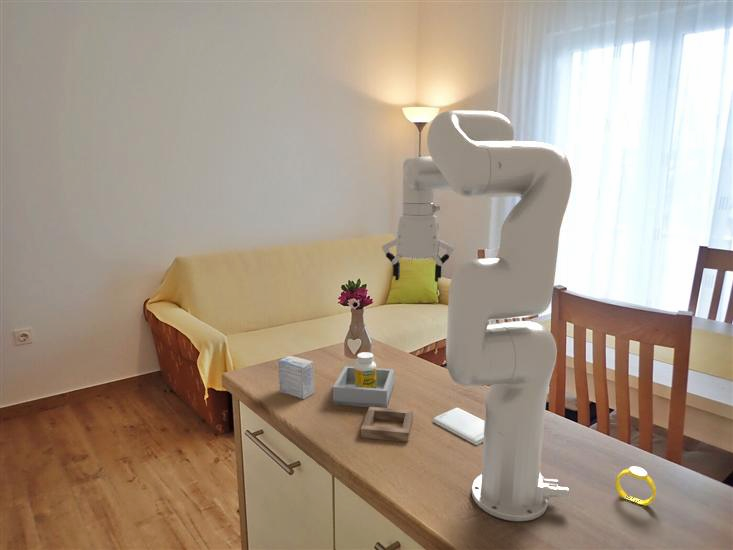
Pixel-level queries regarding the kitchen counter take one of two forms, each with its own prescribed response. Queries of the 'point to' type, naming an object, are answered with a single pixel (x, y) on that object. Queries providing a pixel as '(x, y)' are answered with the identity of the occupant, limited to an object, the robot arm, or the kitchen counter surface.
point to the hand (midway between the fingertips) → (416, 279)
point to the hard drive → (462, 425)
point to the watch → (638, 474)
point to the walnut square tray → (387, 432)
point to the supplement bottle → (365, 371)
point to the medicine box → (296, 377)
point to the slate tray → (363, 389)
